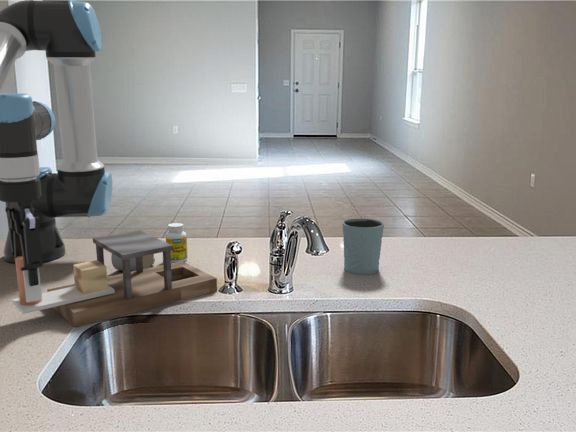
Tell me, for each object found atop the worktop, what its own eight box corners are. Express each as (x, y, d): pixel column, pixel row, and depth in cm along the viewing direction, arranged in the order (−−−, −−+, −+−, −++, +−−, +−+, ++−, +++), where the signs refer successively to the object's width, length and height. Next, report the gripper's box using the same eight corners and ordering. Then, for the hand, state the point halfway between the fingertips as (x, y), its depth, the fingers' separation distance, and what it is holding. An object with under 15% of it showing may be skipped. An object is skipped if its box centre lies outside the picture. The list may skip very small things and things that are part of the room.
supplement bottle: (182, 255, 159) (180, 221, 157) (191, 260, 155) (189, 225, 152) (163, 259, 156) (161, 224, 153) (172, 264, 151) (170, 228, 149)
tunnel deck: (48, 302, 126) (43, 246, 123) (182, 272, 145) (180, 223, 142) (74, 327, 113) (69, 265, 111) (217, 290, 133) (215, 237, 130)
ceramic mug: (140, 277, 142) (139, 246, 140) (111, 273, 144) (109, 243, 143) (162, 265, 152) (161, 236, 150) (135, 261, 154) (133, 233, 153)
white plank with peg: (12, 303, 117) (7, 255, 114) (101, 283, 128) (98, 240, 125) (23, 314, 111) (17, 264, 109) (114, 292, 122) (111, 247, 120)
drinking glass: (337, 272, 145) (338, 225, 143) (345, 261, 155) (347, 216, 152) (378, 277, 142) (380, 228, 140) (384, 264, 152) (386, 219, 149)
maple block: (75, 287, 123) (73, 264, 122) (98, 282, 126) (96, 260, 125) (83, 294, 119) (81, 270, 118) (107, 289, 122) (106, 265, 121)
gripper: (-16, 174, 114) (-2, 289, 119) (9, 187, 101) (22, 315, 106) (25, 170, 118) (36, 281, 124) (53, 182, 106) (64, 305, 111)
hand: (30, 296), depth 115 cm, fingers closed on white plank with peg, 4 cm apart
